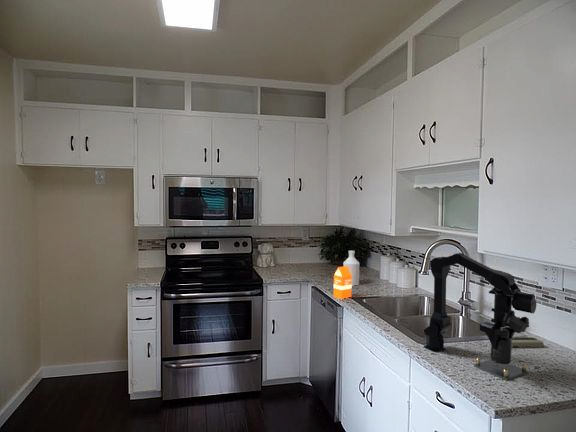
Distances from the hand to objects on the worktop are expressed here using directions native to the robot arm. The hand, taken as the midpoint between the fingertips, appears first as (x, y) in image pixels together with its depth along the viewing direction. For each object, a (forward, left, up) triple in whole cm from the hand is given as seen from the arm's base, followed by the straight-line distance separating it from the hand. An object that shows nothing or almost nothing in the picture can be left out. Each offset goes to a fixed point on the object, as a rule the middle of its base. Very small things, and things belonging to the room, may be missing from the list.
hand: (501, 347), depth 145 cm
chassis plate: (0, 0, -8) cm, 8 cm away
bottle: (-141, +36, -9) cm, 146 cm away
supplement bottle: (0, 0, -5) cm, 5 cm away
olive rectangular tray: (-12, +32, -9) cm, 35 cm away
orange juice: (-113, +8, -9) cm, 114 cm away
